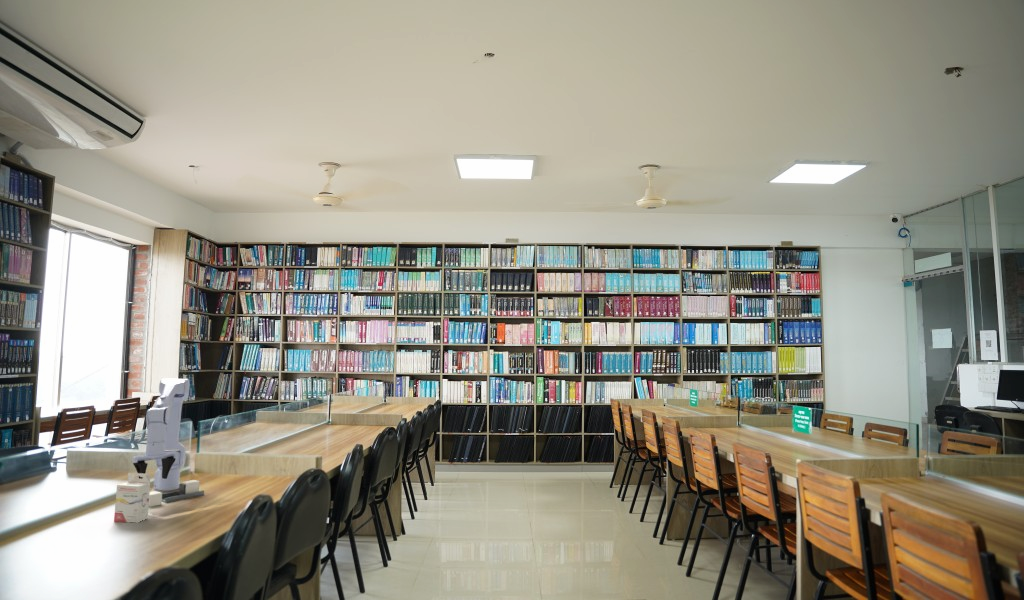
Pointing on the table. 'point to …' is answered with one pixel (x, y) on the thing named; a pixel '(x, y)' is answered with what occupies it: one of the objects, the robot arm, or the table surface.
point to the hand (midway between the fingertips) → (153, 480)
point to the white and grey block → (188, 486)
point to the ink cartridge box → (132, 499)
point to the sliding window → (179, 496)
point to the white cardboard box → (155, 498)
